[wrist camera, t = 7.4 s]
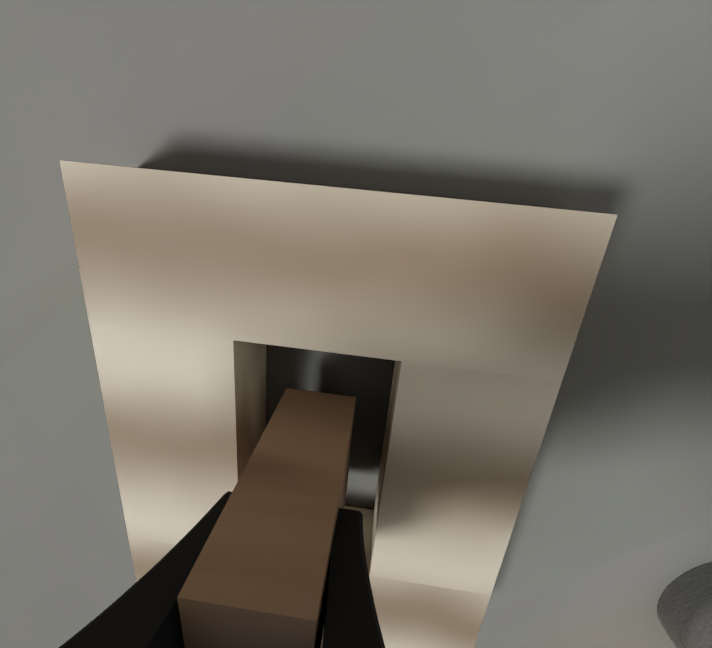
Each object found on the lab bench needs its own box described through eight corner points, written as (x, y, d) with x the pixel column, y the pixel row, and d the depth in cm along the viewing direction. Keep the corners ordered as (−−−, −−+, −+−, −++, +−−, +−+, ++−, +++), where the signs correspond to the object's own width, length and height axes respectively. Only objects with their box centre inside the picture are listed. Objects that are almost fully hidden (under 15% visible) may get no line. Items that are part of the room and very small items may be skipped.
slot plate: (455, 592, 18) (466, 667, 15) (179, 548, 19) (141, 611, 16) (562, 208, 11) (617, 214, 9) (136, 167, 12) (59, 160, 9)
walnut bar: (345, 502, 15) (306, 758, 8) (284, 493, 15) (198, 737, 8) (356, 397, 13) (316, 621, 6) (286, 388, 13) (176, 597, 6)
